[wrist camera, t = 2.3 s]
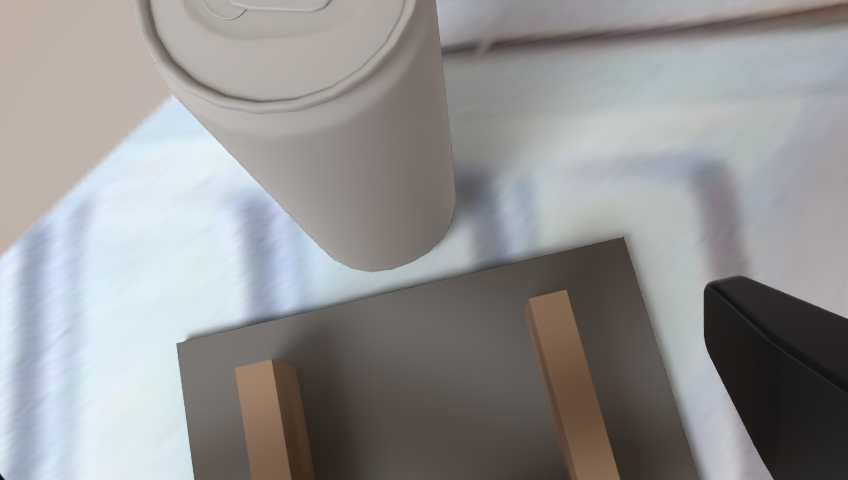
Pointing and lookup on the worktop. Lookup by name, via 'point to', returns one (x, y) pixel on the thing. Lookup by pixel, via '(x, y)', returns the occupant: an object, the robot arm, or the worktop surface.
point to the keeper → (446, 383)
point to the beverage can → (322, 112)
